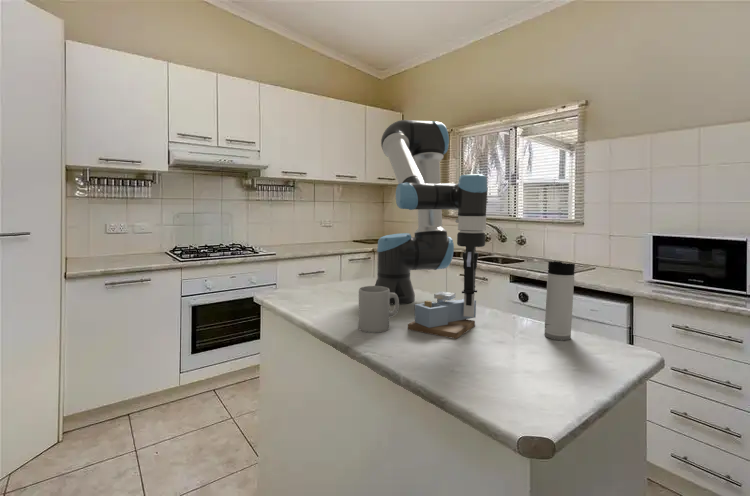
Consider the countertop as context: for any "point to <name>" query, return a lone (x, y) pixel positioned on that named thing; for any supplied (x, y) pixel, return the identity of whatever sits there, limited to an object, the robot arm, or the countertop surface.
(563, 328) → the travel mug
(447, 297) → the block
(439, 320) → the link
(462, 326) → the board
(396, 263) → the robot arm
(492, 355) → the countertop surface
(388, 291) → the mug
